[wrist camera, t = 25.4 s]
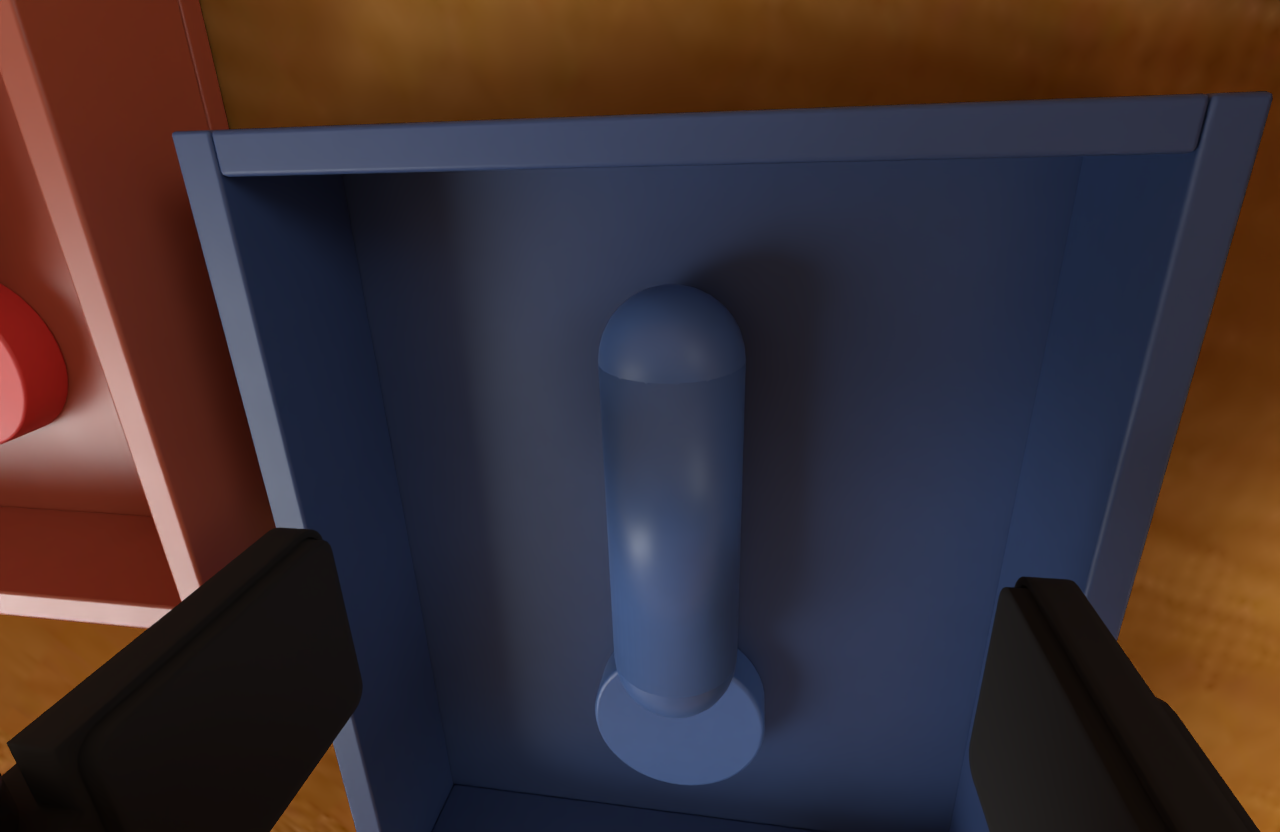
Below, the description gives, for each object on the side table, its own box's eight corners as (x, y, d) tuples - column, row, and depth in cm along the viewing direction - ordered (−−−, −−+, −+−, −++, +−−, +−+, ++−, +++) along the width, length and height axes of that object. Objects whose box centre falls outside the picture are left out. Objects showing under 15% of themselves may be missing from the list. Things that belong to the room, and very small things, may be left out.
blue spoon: (577, 271, 12) (537, 302, 10) (785, 271, 12) (790, 304, 9) (607, 740, 16) (583, 834, 14) (761, 758, 16) (761, 859, 14)
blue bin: (443, 779, 19) (377, 913, 16) (320, 130, 13) (168, 131, 9) (963, 846, 17) (1010, 1018, 13) (1121, 102, 10) (1278, 90, 7)
